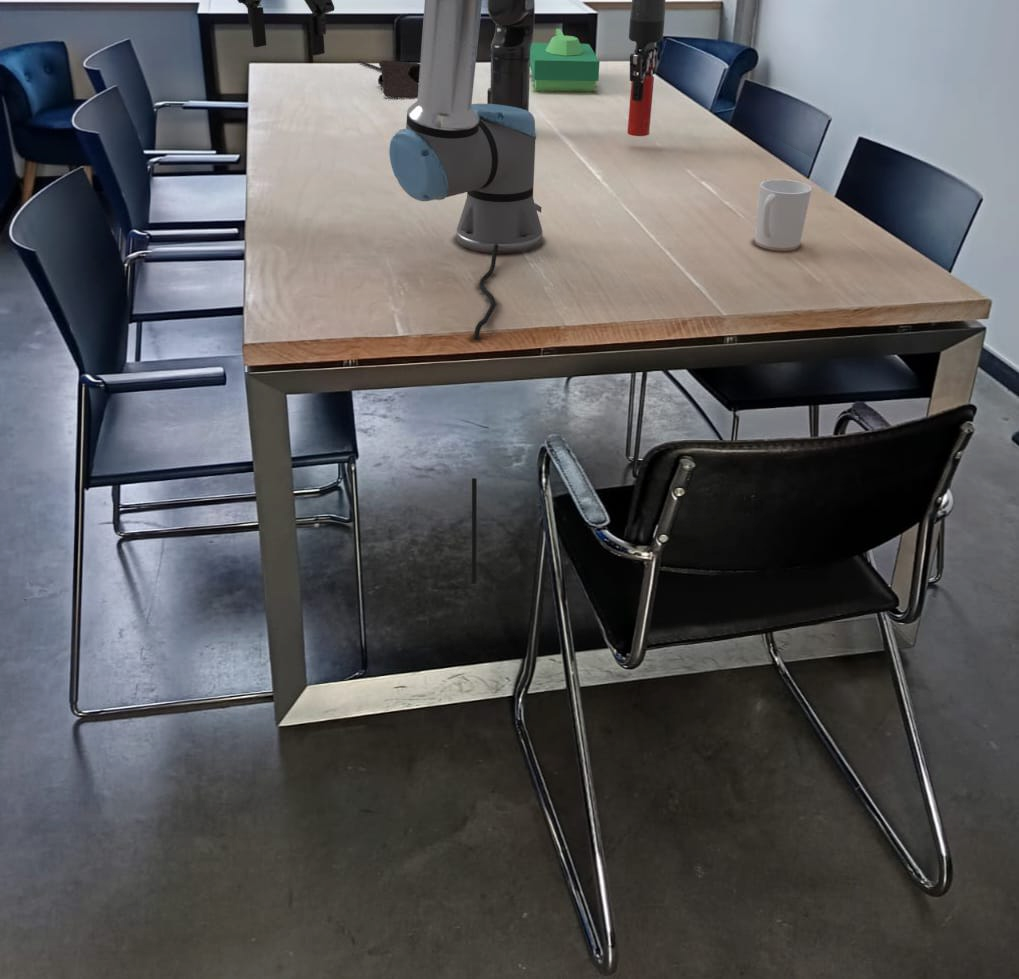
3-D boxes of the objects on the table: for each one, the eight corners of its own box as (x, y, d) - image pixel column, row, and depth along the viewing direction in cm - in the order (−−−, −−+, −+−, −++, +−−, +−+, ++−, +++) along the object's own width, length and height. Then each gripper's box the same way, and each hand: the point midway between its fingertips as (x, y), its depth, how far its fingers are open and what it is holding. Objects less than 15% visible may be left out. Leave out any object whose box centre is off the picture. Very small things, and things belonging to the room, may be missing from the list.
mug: (766, 232, 202) (774, 176, 197) (810, 242, 198) (820, 186, 192) (737, 246, 195) (744, 189, 190) (782, 258, 190) (791, 199, 185)
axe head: (443, 87, 294) (392, 77, 287) (436, 115, 299) (385, 106, 292) (421, 62, 307) (371, 52, 300) (414, 89, 311) (365, 80, 304)
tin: (653, 133, 252) (658, 76, 245) (639, 137, 249) (644, 79, 242) (636, 129, 255) (641, 73, 248) (622, 133, 252) (627, 76, 245)
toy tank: (586, 25, 325) (600, 46, 295) (584, 69, 332) (597, 94, 302) (527, 24, 324) (535, 45, 294) (526, 68, 331) (533, 93, 301)
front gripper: (349, -78, 186) (356, 54, 197) (237, -86, 197) (250, 40, 208) (322, -75, 181) (330, 60, 192) (208, -84, 191) (222, 45, 202)
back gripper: (654, 23, 232) (647, 106, 241) (673, 14, 243) (665, 94, 252) (620, 20, 234) (614, 102, 243) (641, 11, 246) (634, 90, 254)
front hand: (288, 50), depth 200 cm, fingers open, 13 cm apart
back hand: (640, 97), depth 248 cm, fingers closed on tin, 5 cm apart
